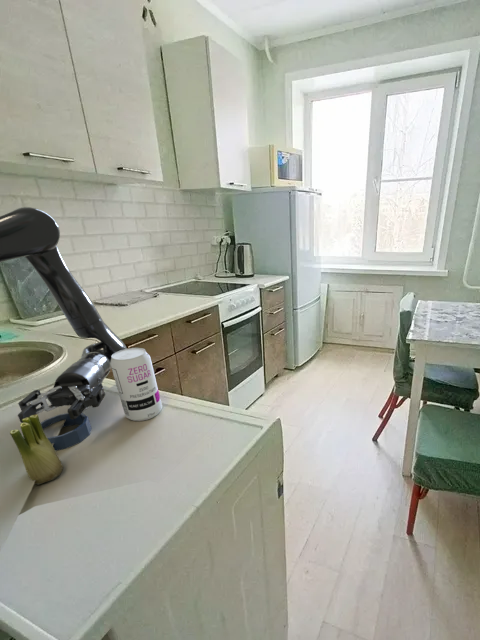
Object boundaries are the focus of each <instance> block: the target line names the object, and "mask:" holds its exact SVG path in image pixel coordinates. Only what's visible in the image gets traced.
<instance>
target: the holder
mask: <svg viewBox="0 0 480 640" xmlns="http://www.w3.org/2000/svg"><path fill="white" fill-rule="evenodd" d="M60 421H64V422H63V424H62V426H61V428H65V427H70V426H77V427H76V428H74V429H73V430H70V431H67V432H65V433H63V434H60V435H54V436H49V437H47V438H48V440H49V441H50V443H51V444H52V446H53V447H54V449H55V451H56V452H57V451H61V450H66V449H69V448H71V447H74V446H75V445H77V444H78V445H79V444H80V443H82V442H83V441H84V440H86V438H88V437H89V436H90V435H91V432H92V429H93V428H92V425H91V422H90V419H89V416H87V414H85V413H84V412H82V413H81V415H79V416H78V417H77V418H76V419H70V416H69V414H68V412H65V413H59V414H57V415H54V416H51V417H49V418H46V419H44V420H42V421H40V423H41V426H42V428H43V430H44V429H46V428H47V427H49V426H51V425H53V424H55V423H58V422H60Z"/></svg>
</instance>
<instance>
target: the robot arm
mask: <svg viewBox="0 0 480 640" xmlns="http://www.w3.org/2000/svg"><path fill="white" fill-rule="evenodd" d="M60 238H61V231H60V227H59V224H58V223H57V221H56V219H54V217H52V216H51V215H50V214H48V213H47V212H46V211H44V210H42V209H39V208H36V207H32V206H22V207H18V208H16V209H13V210H12V211H10V212H7V213H4V214H2V215H0V263H3V262H7V261H12V260H16V259H19V258H25V259H26V260H27V261H28V262H29V263H30V264H31V267H32V268H33V269H34V270H35V272H37V274H38V275H39V277H40V279H42V281H43V283H44V284H45V285H46V287H47V288H48V290H49V292H50V294H51V295H52V297H53V299H54V300H55V302H56V304H57V305H58V306H59V308H60V311H61V312H62V313H63V315H64V317H65V318H66V320H67V321H68V323H69V325H70V326H71V329H73V331H74V333H75V334H76V336H78V337H79V339H96V340H97V341H98V340H99V342H94V343H92V344H89V345H88V346H86V347H84V349H83V350H82V351H81V352H82V353H81V356H80V358H79V359H78V360H77V361H75V362H74V363H72V364H71V365H70V366H69V367H67V368H66V369H65V370H64V371H63V372H62V373H61V374H59V376H57V378H56V379H55V381H54V385H53V388H50V389H49V390H47V391H46V392H41V391H40V389H35V390H33V391H31V392H30V393H28V395H26V396H25V397H24V398H22V399H21V400H19V402H18V403H17V404H18V407H19V409H20V412H18V414H17V417H18V420H19V421H20V424H21V423H23V421H22V419H24V418H27V417H28V418H29V417H30V416H32V415H36V414H37V415H39V414H40V413H43V412H46V413H48V412H50V411H52V410H55V409H57V408H60V407H64V406H65V407H66V406H69V407H68V409H67V413H68V414H69V416H70V419H76V418H77V417H78V416H79V415H81V413H84V411H86V410H88V409H89V407H92V408H93V409H95V408H98V407H99V406H100V405H101V403H102V401H103V400H104V398H105V396H106V393H105V389H104V386H103V382H104V380H105V379H106V378H107V377H108V375H109V373H110V372H111V370H112V368H111V365H110V362H111V358H112V357H111V356H112V355H113V354H114V353H116V352H118V351H121V350H124V349H128V348H127V346H126V344H125V343H124V341H123V340H122V339H121V338H120V337H119V336H118V335H117V334H116V333H115V332H114V331H113V330H112V329H111V328H110V327H109V326H108V325H107V323H106V322H105V321H104V319H103V318H102V316H101V314H100V313H99V312H98V310H97V307H96V305H94V303H93V301H92V300H91V298H90V297H89V295H88V294H87V292H86V291H85V290H84V289H83V287H82V286H81V284H80V283H79V282H78V280H76V278H75V277H74V275H73V274H72V272H71V271H70V268H68V266H67V264H66V262H65V260H64V259H63V257H62V255H61V253H60V250H59V248H58V244H59V243H60V242H59V241H60ZM47 400H48V401H47ZM48 402H49V403H50V405H49V404H48ZM39 406H40V407H39ZM37 407H38V408H37Z"/></svg>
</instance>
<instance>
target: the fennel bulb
mask: <svg viewBox="0 0 480 640" xmlns="http://www.w3.org/2000/svg"><path fill="white" fill-rule="evenodd" d="M22 421H23V423H21V422H20V425H19V428H20V429H11V430H10V431H9V435H10V436H11V438H12V440H13V442H14V444H15V446H16V448H17V450H18V452H19V455H20V456H21V458H22V463H23V466H24V468H25V471H26V472H25V473H26V474H27V476H28V477H29V479H30V480H31V481H34V484H35V485H42V484H45V483H47V482H50V481H53V480H55V479H57V478H58V477H60V475H61V474H62V472H63V470H64V465H63V463H62V461H61V459H60V457H59V455H58V453H57V450H56V451H55V449H54V447H53V444H51V443H50V441H49V440H48V437H47V436H46V433H45V431H44V429H43V428H42V426H41V420H40V416H39V414H36V415H32V416H30V417H29V418H28V417H27V418H24V419H22Z"/></svg>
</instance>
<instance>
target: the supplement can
mask: <svg viewBox="0 0 480 640" xmlns="http://www.w3.org/2000/svg"><path fill="white" fill-rule="evenodd" d="M111 357H112V358H111V362H110V365H111V372H112V375H113V379H114V382H115V385H116V389H117V392H118V395H119V398H120V402H121V405H122V409H123V412H124V415H125V418H127V419H128V420H131V421H134V422H143V421H148V420H150V419H152V418H154V417H157V416H158V414H160V412H161V411H162V409H163V403H162V400H161V395H160V392H159V388H158V387H159V386H158V383H157V379H156V375H155V370H154V367H153V362H152V358H151V355H150V354H149V353H148V352H147V350H146V349H145V348H142V347H131V348H130V347H129V348H127V349H124V350H121V351H118V352H116V353H114V354H113V355H112V356H111Z"/></svg>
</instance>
